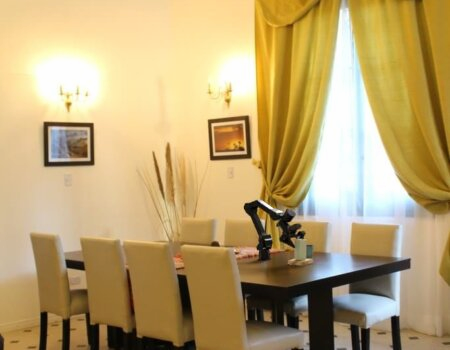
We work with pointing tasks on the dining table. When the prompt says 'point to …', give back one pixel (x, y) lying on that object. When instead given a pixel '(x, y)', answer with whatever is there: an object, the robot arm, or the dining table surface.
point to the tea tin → (300, 249)
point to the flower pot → (309, 251)
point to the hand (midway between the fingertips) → (300, 246)
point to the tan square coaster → (300, 262)
